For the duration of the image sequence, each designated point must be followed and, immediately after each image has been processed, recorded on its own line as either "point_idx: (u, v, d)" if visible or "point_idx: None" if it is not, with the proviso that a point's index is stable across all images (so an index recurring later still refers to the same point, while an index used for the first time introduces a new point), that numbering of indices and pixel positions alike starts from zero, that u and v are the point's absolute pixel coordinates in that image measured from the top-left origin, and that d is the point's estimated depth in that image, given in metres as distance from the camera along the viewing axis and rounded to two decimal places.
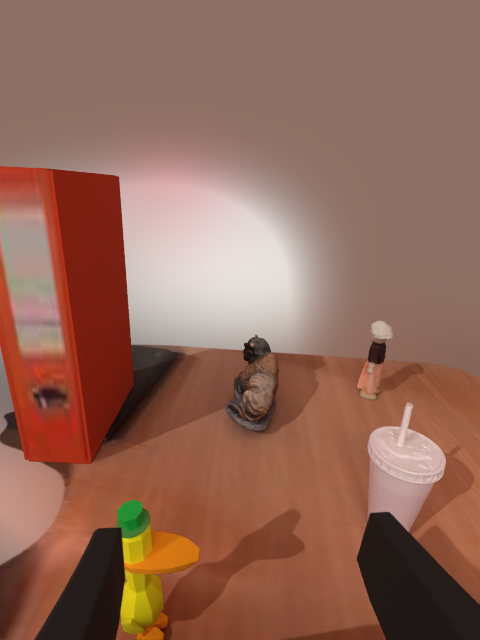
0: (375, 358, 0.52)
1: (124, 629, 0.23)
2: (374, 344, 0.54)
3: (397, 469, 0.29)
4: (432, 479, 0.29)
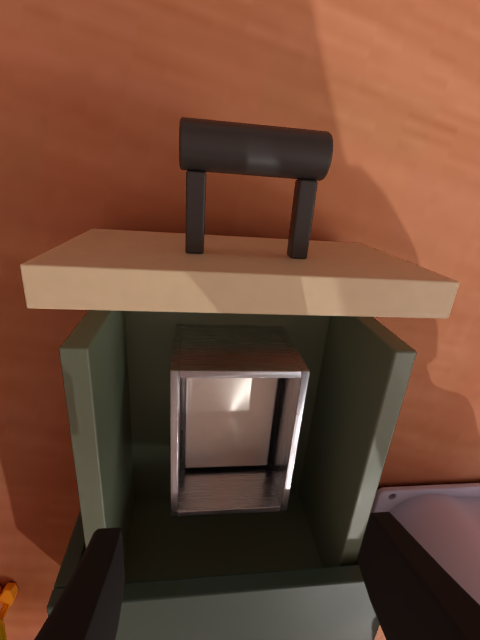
0: None
1: None
2: None
3: None
4: None
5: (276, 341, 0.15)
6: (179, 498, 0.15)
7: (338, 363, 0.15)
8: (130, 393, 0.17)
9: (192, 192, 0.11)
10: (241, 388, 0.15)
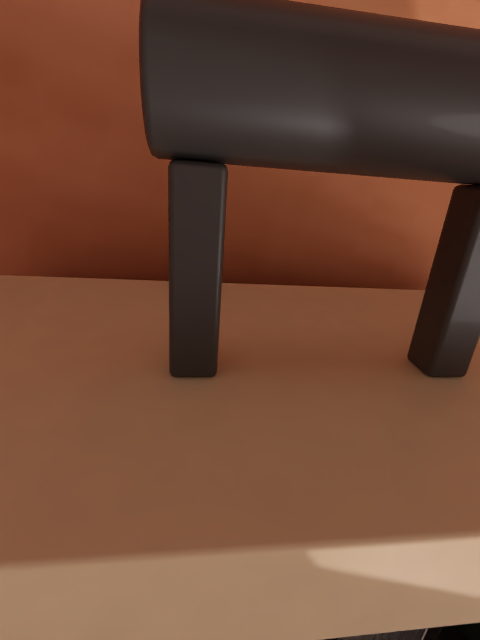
0: None
1: None
2: None
3: None
4: None
5: None
6: None
7: None
8: None
9: (187, 224, 0.04)
10: None
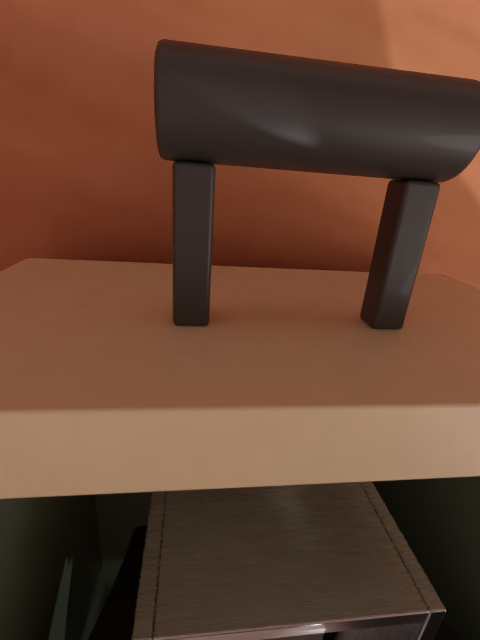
0: None
1: None
2: None
3: None
4: None
5: (346, 487, 0.08)
6: None
7: None
8: (96, 498, 0.11)
9: (186, 207, 0.05)
10: None
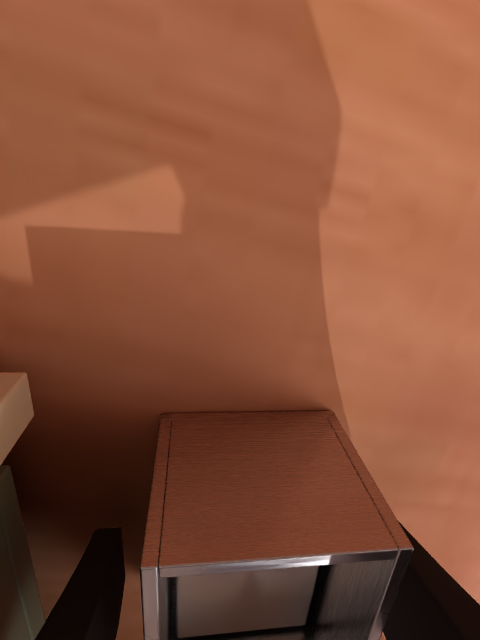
0: None
1: None
2: None
3: None
4: None
5: (331, 453, 0.09)
6: None
7: None
8: None
9: None
10: None
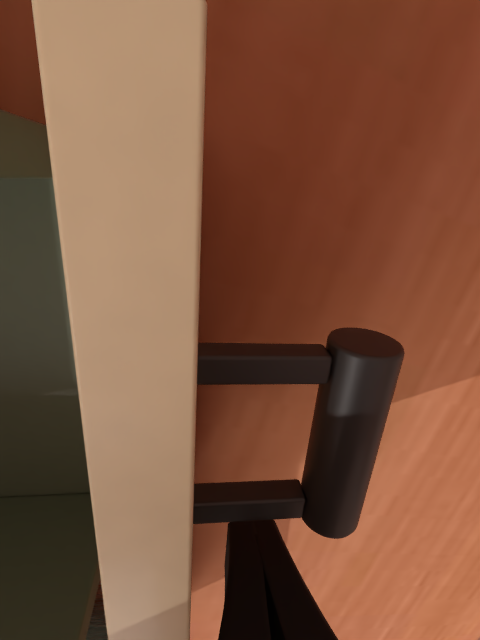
0: None
1: None
2: None
3: None
4: None
5: None
6: None
7: (4, 551, 0.09)
8: None
9: (299, 366, 0.06)
10: None
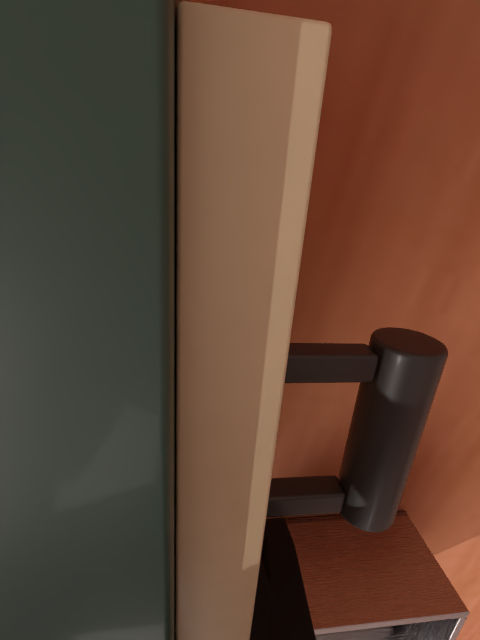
0: None
1: None
2: None
3: None
4: None
5: None
6: None
7: None
8: None
9: (347, 365, 0.07)
10: None
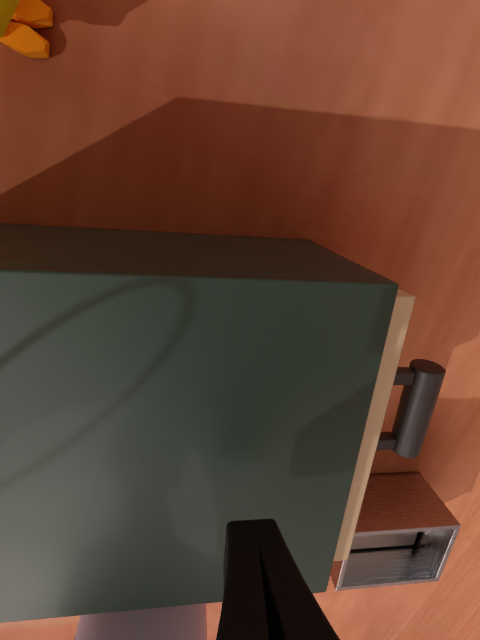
0: None
1: None
2: None
3: None
4: None
5: None
6: None
7: None
8: None
9: (401, 377, 0.15)
10: None
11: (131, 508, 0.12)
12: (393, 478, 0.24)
